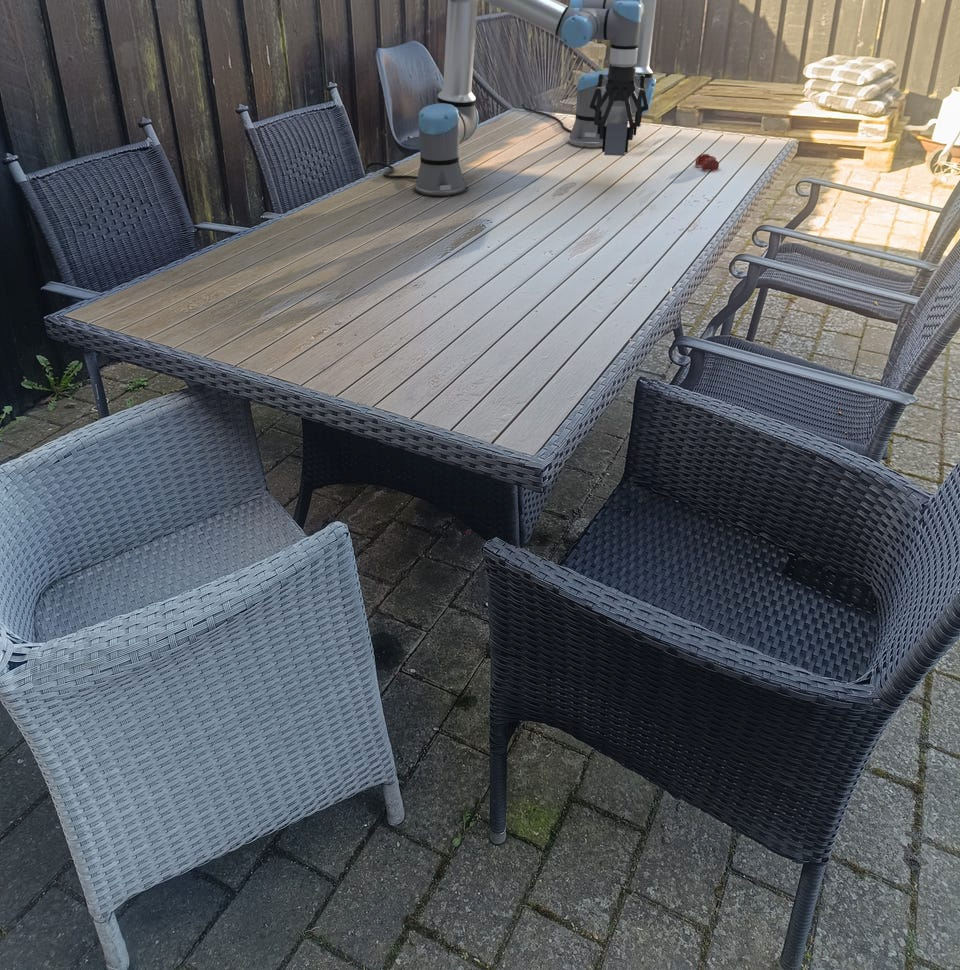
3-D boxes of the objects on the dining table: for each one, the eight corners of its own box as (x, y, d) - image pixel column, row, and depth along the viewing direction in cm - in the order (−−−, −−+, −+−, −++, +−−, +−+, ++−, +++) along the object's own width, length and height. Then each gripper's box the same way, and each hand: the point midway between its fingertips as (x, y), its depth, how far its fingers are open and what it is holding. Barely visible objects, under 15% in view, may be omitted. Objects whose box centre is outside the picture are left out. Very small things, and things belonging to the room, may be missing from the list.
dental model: (710, 150, 279) (721, 156, 273) (708, 163, 282) (719, 170, 275) (694, 152, 278) (705, 158, 272) (693, 165, 281) (704, 172, 274)
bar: (624, 155, 246) (627, 123, 241) (604, 155, 247) (606, 123, 241) (625, 136, 264) (628, 106, 259) (606, 136, 265) (609, 105, 260)
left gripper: (656, 63, 237) (647, 149, 250) (589, 61, 239) (583, 146, 253) (657, 68, 231) (647, 155, 244) (587, 66, 233) (581, 153, 247)
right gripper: (662, 53, 250) (653, 132, 263) (585, 51, 253) (580, 129, 266) (663, 57, 244) (654, 138, 257) (583, 55, 247) (578, 135, 260)
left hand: (614, 150), depth 248 cm, fingers closed on bar, 6 cm apart
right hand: (616, 133), depth 261 cm, fingers open, 10 cm apart
